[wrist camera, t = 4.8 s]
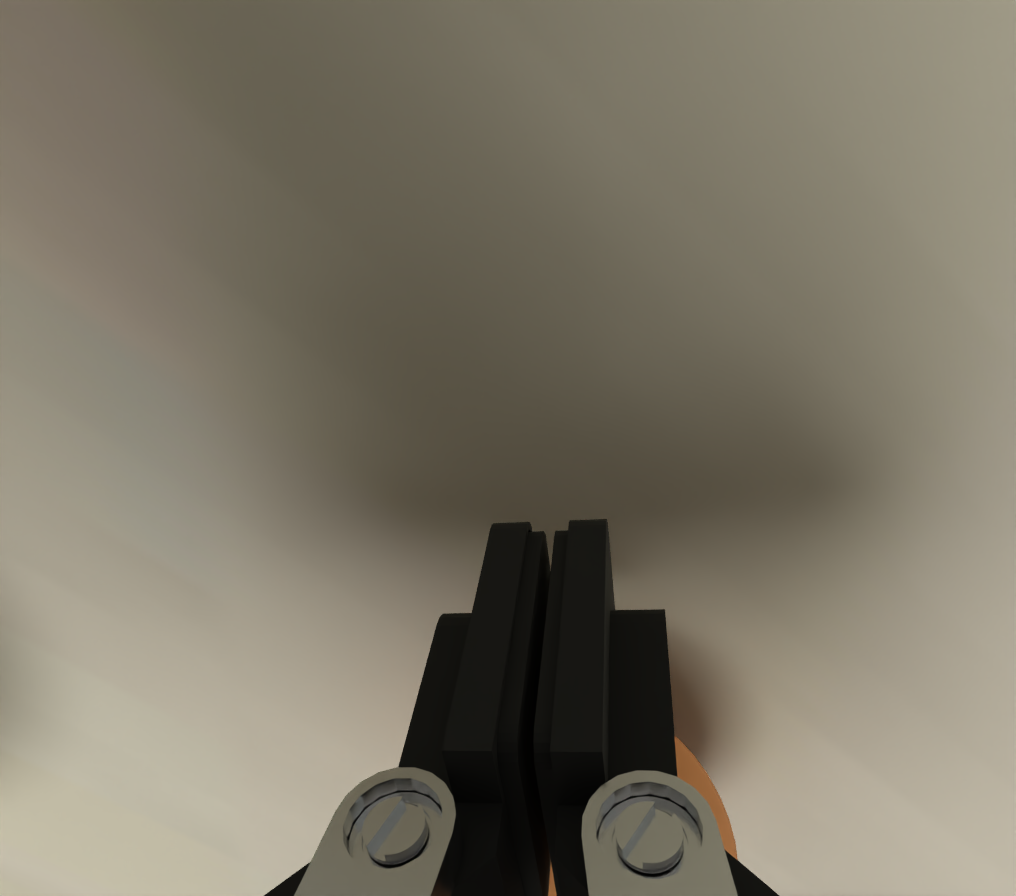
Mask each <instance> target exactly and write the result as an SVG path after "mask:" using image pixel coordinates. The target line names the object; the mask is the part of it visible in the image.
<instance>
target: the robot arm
mask: <svg viewBox="0 0 1016 896" xmlns="http://www.w3.org/2000/svg"><path fill="white" fill-rule="evenodd" d="M550 865H552V871H553V877H554V883H555V888H556V894H557V896H779V895H778V894H777V893H776V892H774V891H773V890H772V889H771V888H770V887H768V886H767V885H766V884H765V883H764V882H763V881H761V880H760V879H759V878H758V877H757V876H755V875H754V874H753V873H752V872H751V871H750V870H748V869H747V868H746V867H745V866H744V865H742V864H741V863H740V862H739V861H738V860H737V859H735V858H734V857H733V856H732V855H731V854H729V853H728V852H727V851H726V850H725V849H724V846H723V842H722V839H721V835H720V832H719V828H718V825H717V821H716V819H715V817H714V814H713V812H712V810H711V808H710V806H709V804H708V802H707V801H706V800H705V799H704V798H703V796H702V795H701V794H700V793H699V792H698V791H697V790H696V789H695V788H694V787H693V786H691V785H690V784H688V783H686V782H685V781H683V780H681V779H680V778H678V776H677V763H676V750H675V737H674V724H673V710H672V697H671V684H670V671H669V657H668V644H667V631H666V618H665V609H662V610H615V604H614V592H613V580H612V568H611V555H610V543H609V531H608V522H607V519H596V520H570V521H569V527H568V531H555V536H554V545H553V554H552V564H551V571H550V564H549V556H548V548H547V541H546V535H545V532H544V531H540V532H532V527H531V524H530V522H516V523H493V524H492V526H491V529H490V533H489V538H488V542H487V547H486V551H485V556H484V560H483V565H482V569H481V574H480V578H479V583H478V587H477V592H476V597H475V601H474V606H473V610H472V613H454V614H442V615H441V617H440V618H439V620H438V623H437V626H436V630H435V633H434V637H433V641H432V644H431V648H430V652H429V656H428V659H427V663H426V667H425V670H424V674H423V678H422V682H421V685H420V689H419V693H418V696H417V700H416V704H415V708H414V711H413V715H412V719H411V722H410V726H409V730H408V733H407V737H406V741H405V745H404V748H403V752H402V756H401V759H400V763H399V767H397V768H393V769H389V770H385V771H382V772H378V773H376V774H375V775H373V776H371V777H369V778H367V779H365V780H363V781H362V782H360V783H359V784H358V785H357V786H356V787H355V788H354V789H353V790H351V791H350V792H349V793H348V794H347V795H346V796H345V798H344V799H343V801H342V802H341V804H340V805H339V807H338V808H337V810H336V811H335V813H334V815H333V817H332V819H331V821H330V823H329V825H328V828H327V830H326V832H325V834H324V836H323V838H322V840H321V842H320V844H319V846H318V848H317V850H316V852H315V854H314V856H313V858H312V860H311V862H310V863H308V864H307V865H306V866H304V867H303V868H301V869H300V870H299V871H297V872H296V873H295V874H293V875H292V876H290V877H289V878H288V879H286V880H285V881H284V882H282V883H281V884H279V885H278V886H277V887H275V888H274V889H272V890H271V891H270V892H268V893H267V894H266V895H264V896H548V892H549V878H550Z"/></svg>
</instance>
